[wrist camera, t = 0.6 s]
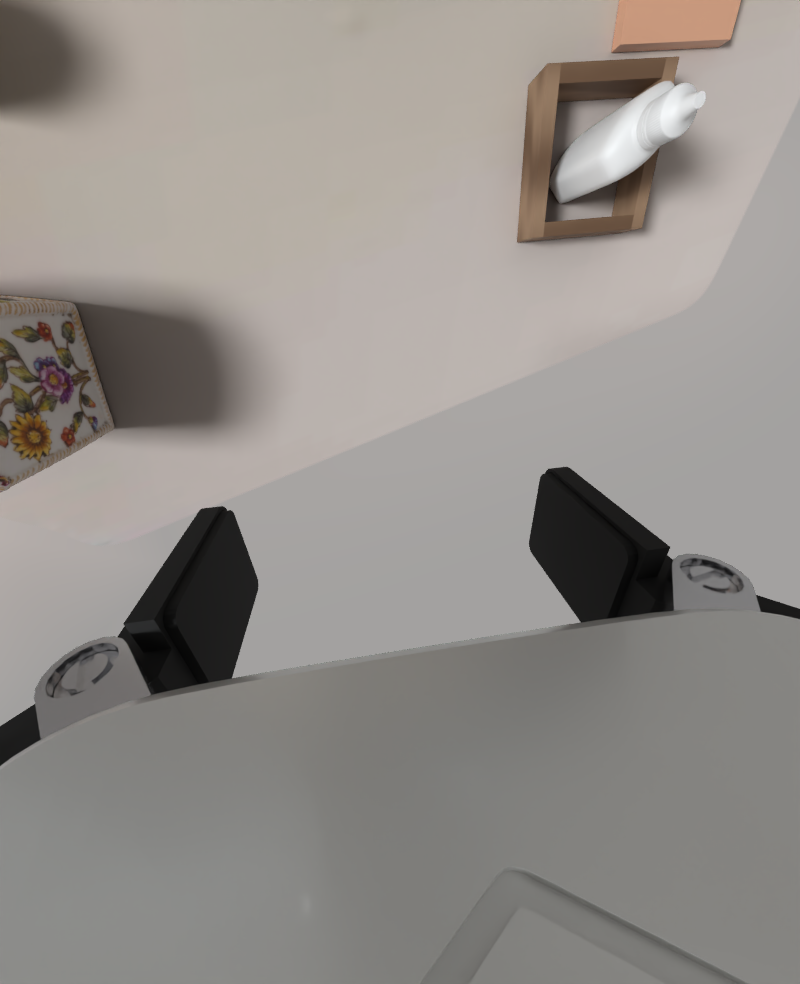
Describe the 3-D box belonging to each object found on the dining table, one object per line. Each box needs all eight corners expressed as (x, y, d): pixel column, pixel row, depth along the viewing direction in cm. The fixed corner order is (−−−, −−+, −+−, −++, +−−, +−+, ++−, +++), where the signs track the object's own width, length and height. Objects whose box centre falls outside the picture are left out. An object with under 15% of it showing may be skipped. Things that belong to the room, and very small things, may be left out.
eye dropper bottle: (608, 187, 31) (740, 133, 21) (548, 209, 31) (648, 167, 21) (609, 120, 29) (757, 23, 18) (544, 145, 29) (654, 62, 18)
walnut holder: (528, 85, 27) (547, 63, 24) (648, 78, 28) (679, 56, 25) (517, 242, 32) (532, 238, 29) (618, 233, 33) (641, 228, 30)
